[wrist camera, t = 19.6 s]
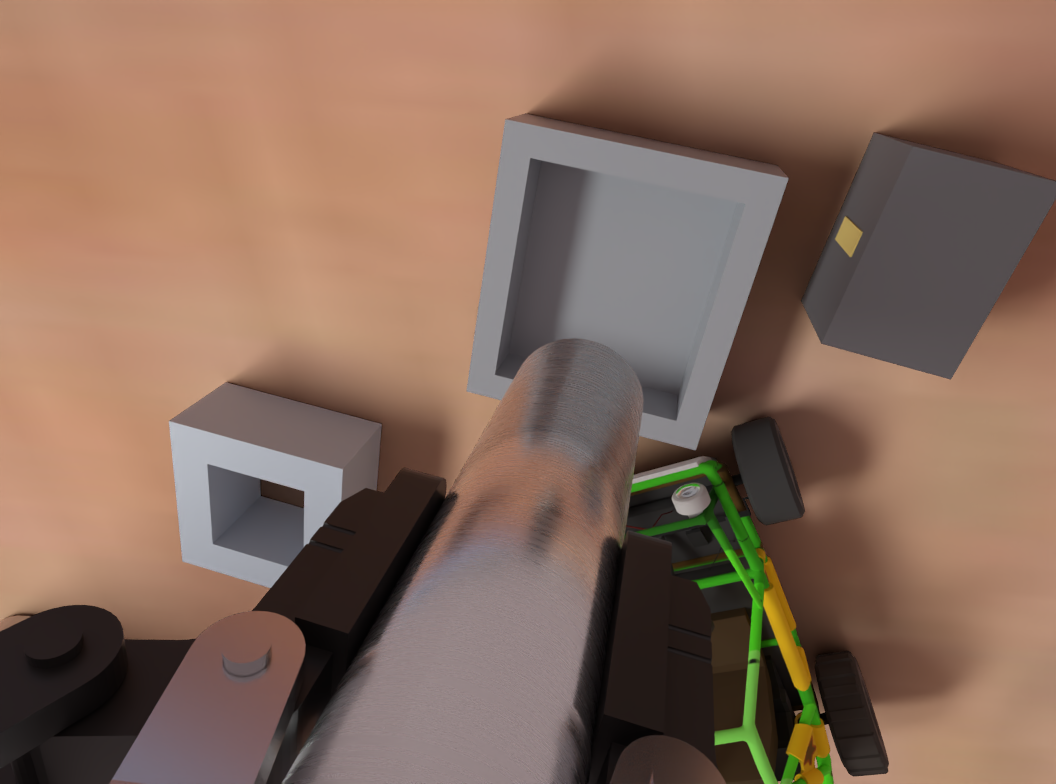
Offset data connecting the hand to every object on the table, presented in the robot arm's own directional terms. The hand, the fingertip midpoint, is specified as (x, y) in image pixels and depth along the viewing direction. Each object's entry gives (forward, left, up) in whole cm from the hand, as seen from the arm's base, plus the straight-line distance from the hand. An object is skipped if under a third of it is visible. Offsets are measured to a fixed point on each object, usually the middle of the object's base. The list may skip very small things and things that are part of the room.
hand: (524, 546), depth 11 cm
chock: (+4, -9, -17) cm, 19 cm away
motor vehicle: (-14, -7, -17) cm, 23 cm away
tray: (0, 0, -17) cm, 17 cm away
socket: (-13, +13, -17) cm, 25 cm away
